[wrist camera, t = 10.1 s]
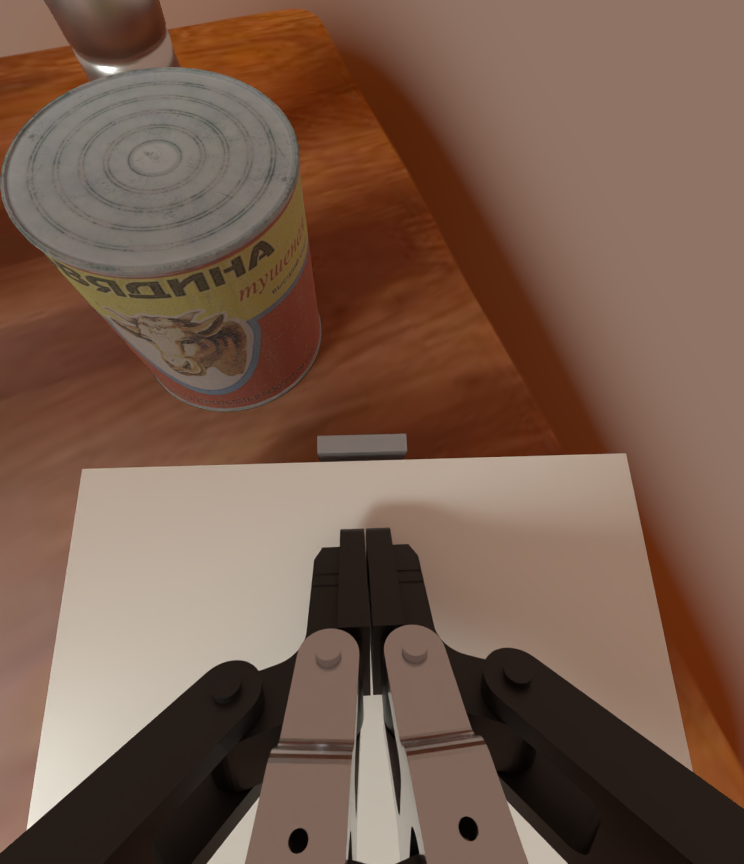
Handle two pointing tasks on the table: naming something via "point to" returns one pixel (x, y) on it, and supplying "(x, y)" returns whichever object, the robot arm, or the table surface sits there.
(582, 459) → the lid
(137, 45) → the plastic bottle
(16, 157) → the canned food
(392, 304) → the table surface
